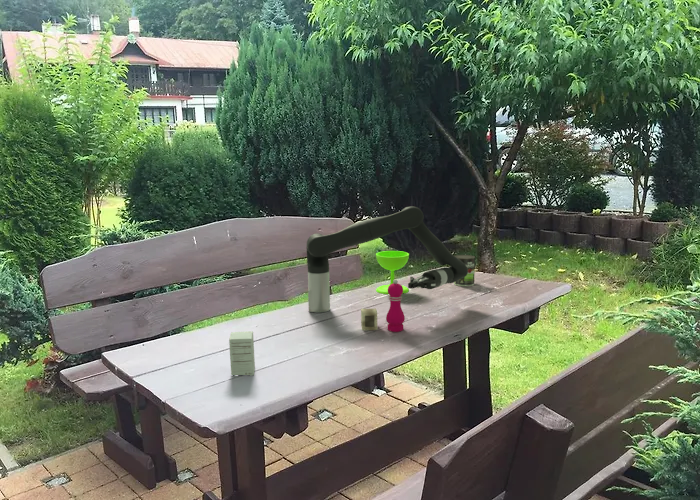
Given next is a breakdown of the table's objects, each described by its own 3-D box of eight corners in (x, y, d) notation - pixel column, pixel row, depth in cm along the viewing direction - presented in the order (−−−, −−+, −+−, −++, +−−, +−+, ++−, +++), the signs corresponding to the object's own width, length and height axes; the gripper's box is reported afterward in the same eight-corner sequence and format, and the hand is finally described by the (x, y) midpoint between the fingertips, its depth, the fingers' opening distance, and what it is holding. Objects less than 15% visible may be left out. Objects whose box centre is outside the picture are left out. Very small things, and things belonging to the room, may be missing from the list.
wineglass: (415, 291, 297) (416, 254, 294) (389, 296, 288) (389, 258, 285) (395, 284, 310) (395, 249, 307) (369, 289, 301) (369, 253, 298)
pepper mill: (403, 332, 237) (403, 282, 233) (384, 331, 238) (384, 281, 235) (406, 327, 244) (406, 277, 240) (387, 326, 245) (387, 277, 242)
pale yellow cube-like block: (362, 330, 240) (361, 313, 239) (361, 325, 247) (361, 308, 245) (377, 330, 240) (377, 313, 239) (376, 325, 247) (376, 308, 245)
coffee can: (478, 285, 306) (479, 257, 304) (460, 287, 303) (461, 259, 300) (467, 280, 316) (468, 253, 313) (449, 282, 312) (450, 255, 309)
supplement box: (232, 368, 204) (230, 331, 202) (255, 367, 205) (253, 330, 203) (230, 376, 197) (228, 339, 195) (253, 375, 198) (252, 338, 195)
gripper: (421, 267, 261) (396, 274, 249) (448, 272, 253) (423, 279, 240) (421, 284, 263) (396, 292, 250) (447, 290, 254) (423, 298, 242)
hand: (409, 286), depth 245 cm, fingers closed
